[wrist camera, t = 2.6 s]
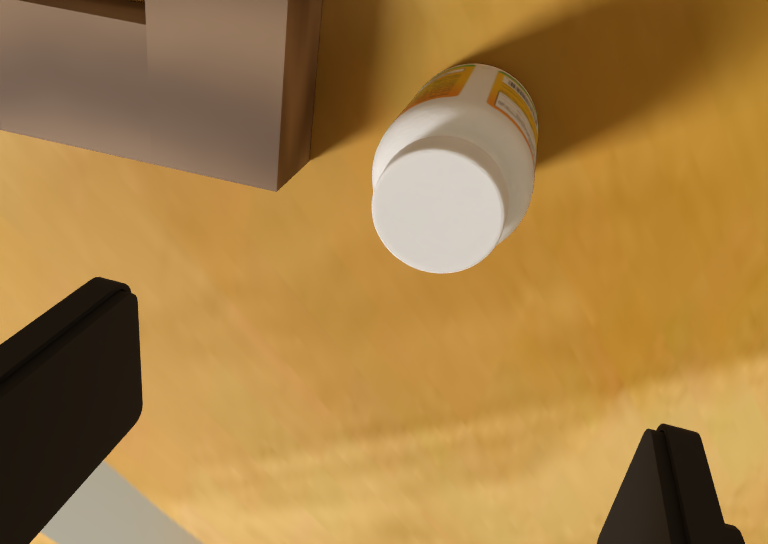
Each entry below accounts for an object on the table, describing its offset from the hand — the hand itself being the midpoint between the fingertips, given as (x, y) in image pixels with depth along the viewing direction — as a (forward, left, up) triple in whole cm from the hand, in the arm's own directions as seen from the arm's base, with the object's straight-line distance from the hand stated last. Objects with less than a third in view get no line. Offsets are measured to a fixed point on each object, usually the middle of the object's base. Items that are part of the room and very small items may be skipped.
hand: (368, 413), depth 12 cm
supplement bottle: (0, 0, -19) cm, 19 cm away
